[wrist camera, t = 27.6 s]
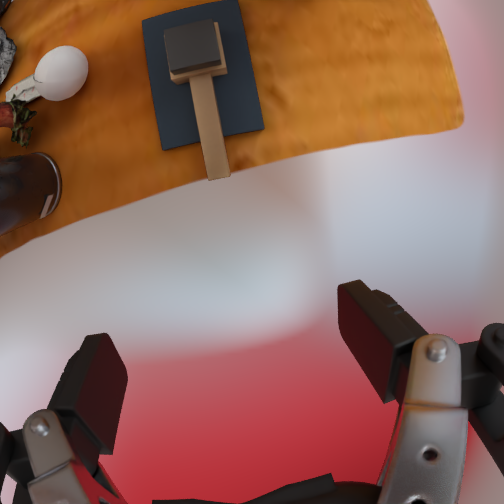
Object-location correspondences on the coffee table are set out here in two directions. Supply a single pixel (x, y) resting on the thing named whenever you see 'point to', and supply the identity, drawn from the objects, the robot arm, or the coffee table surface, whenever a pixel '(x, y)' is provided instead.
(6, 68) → the stone
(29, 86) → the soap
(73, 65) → the white egg
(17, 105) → the mushroom
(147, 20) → the mat
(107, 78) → the coffee table surface
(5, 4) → the toy car
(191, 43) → the brush
